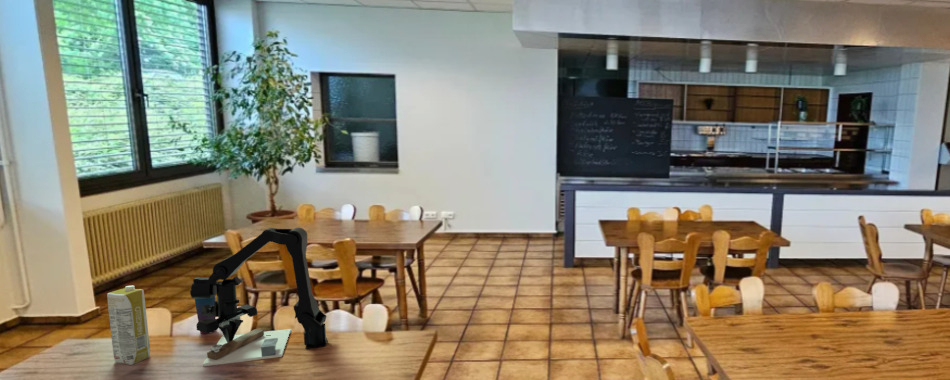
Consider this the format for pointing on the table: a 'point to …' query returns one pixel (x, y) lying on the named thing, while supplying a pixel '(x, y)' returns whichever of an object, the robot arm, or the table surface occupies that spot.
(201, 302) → the cup
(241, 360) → the base plate
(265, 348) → the keeper
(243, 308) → the robot arm
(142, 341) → the juice carton
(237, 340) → the link
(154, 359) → the table surface
